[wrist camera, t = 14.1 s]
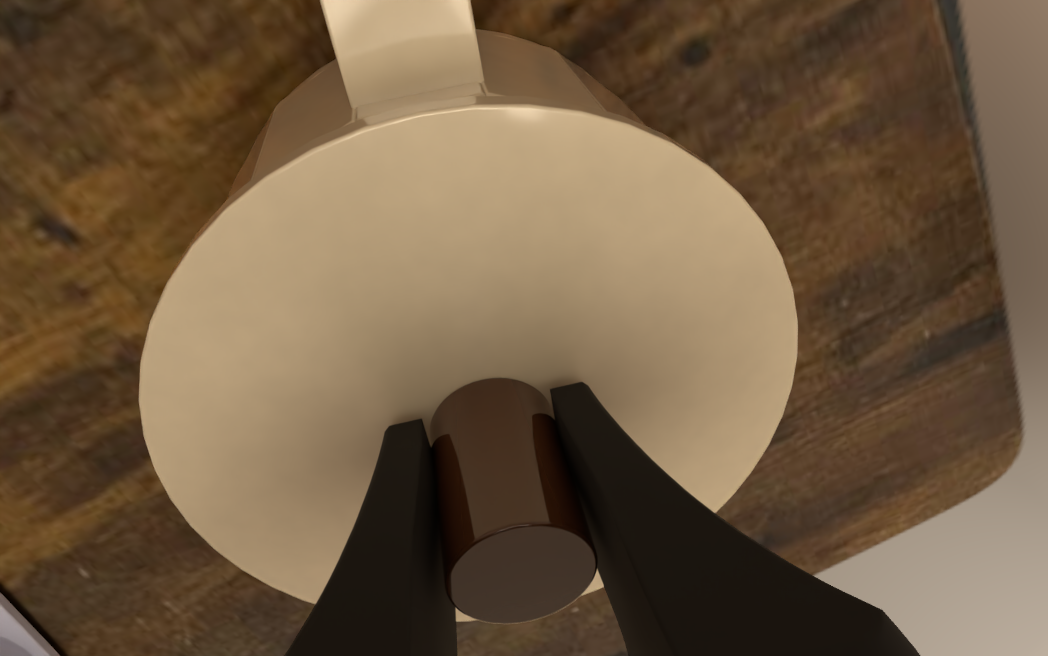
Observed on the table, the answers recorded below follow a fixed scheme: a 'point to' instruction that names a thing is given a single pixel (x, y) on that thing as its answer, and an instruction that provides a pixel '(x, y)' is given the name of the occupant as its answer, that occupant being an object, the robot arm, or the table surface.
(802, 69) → the table surface
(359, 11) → the pot
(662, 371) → the lid
